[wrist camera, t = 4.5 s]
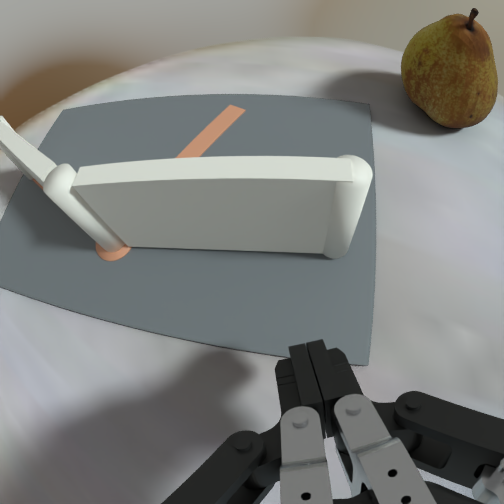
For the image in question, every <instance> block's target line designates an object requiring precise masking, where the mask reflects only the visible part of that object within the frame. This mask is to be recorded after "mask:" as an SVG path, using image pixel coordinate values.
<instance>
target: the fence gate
mask: <svg viewBox="0 0 504 504" xmlns="http://www.w3.org/2000/svg"><path fill="white" fill-rule="evenodd" d="M372 176H373V173H372V169H371V167H370V166H369V164H368V163H367V162H366V161H365V160H363V159H362V158H360V157H357V156H354V155H343V156H339V157H337V158H328V157H301V156H219V157H191V158H172V159H157V160H143V161H131V162H120V163H110V164H101V165H92V166H83V167H80V168H79V171H78V173H77V175H76V178H75V180H74V182H73V185H72V187H73V188H74V189H75V190H76V191H77V192H78V193H79V195H80V196H81V197H82V198H83V199H84V200H85V201H86V202H87V203H88V204H89V206H90V207H91V208H92V209H93V210H94V211H95V212H96V213H97V214H98V215H99V216H100V217H101V219H102V220H103V221H104V222H105V223H106V224H107V225H108V226H109V227H110V228H111V229H112V230H113V231H114V232H115V233H116V234H117V235H118V236H119V237H120V238H121V239H122V240H123V242H124V243H125V244H126V245H127V246H128V247H156V248H184V249H212V250H240V251H267V252H295V253H322V254H324V255H325V256H326V257H329V258H332V259H337V258H341V257H343V256H344V255H345V254H346V253H347V251H348V249H349V246H350V243H351V240H352V237H353V235H354V232H355V229H356V226H357V223H358V220H359V217H360V214H361V211H362V208H363V205H364V202H365V199H366V196H367V193H368V190H369V187H370V183H371V180H372Z"/></svg>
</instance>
